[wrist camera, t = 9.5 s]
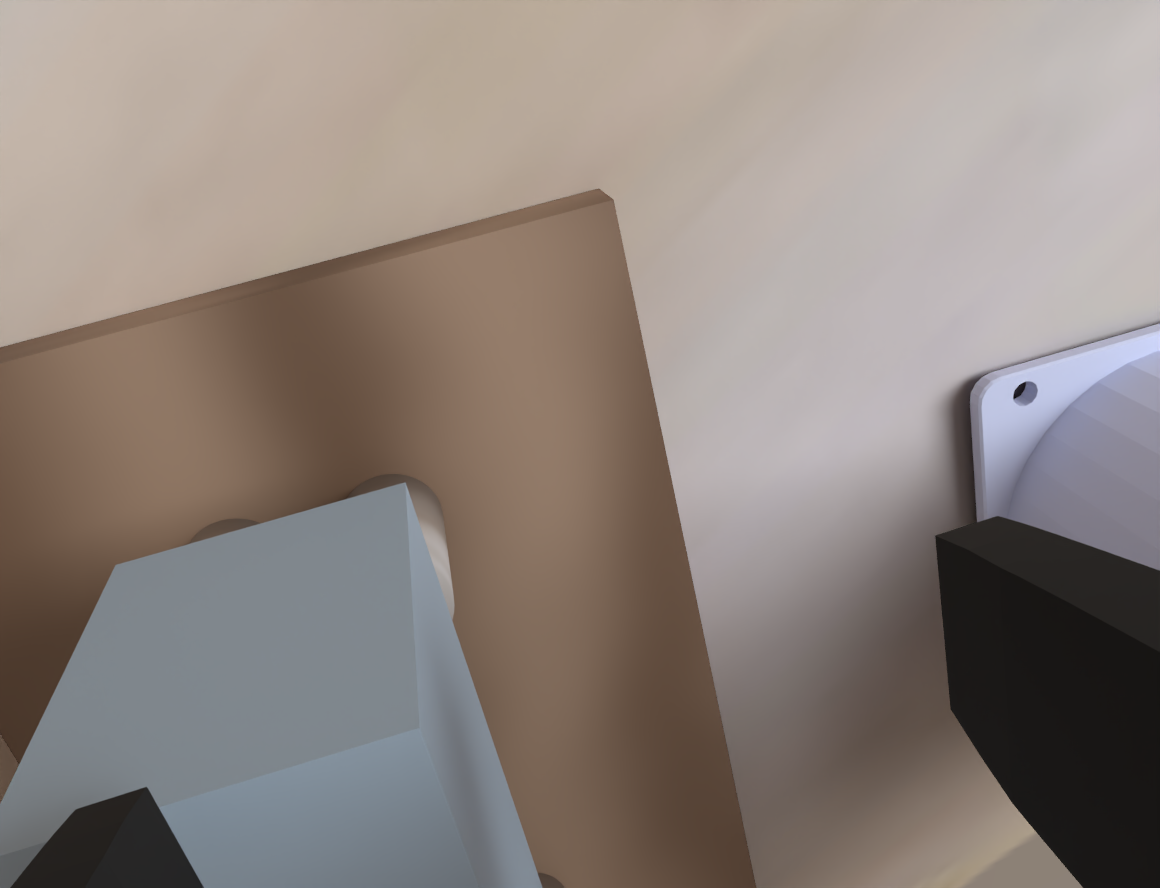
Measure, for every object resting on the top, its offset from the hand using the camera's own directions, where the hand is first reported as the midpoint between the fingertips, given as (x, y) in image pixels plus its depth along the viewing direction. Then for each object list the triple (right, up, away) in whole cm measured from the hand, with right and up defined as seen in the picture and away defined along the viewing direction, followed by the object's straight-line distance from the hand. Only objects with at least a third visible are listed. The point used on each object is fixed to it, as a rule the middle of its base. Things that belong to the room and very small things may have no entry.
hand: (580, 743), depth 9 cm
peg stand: (-4, -3, +12) cm, 13 cm away
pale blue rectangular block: (-3, -5, +8) cm, 10 cm away
